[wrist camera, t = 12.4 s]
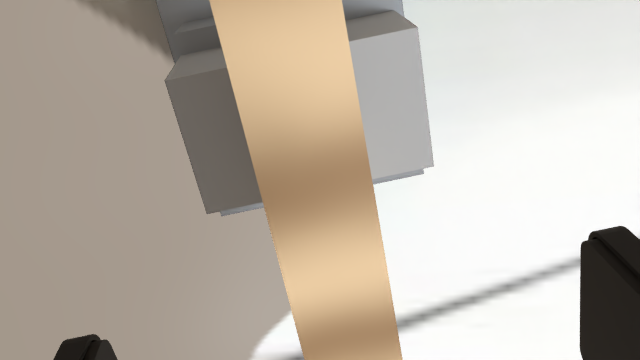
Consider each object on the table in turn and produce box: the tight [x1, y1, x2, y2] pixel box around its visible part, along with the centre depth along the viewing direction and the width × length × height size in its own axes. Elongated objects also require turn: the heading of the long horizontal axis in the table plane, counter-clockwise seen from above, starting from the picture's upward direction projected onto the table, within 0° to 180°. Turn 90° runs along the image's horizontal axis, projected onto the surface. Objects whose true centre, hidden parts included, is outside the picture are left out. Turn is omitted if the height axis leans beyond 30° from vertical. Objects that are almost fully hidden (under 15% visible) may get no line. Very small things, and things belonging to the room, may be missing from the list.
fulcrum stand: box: [156, 0, 434, 216], centre depth 27 cm, size 14×12×9 cm
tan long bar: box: [209, 0, 402, 360], centre depth 20 cm, size 24×4×6 cm, turn 11°
